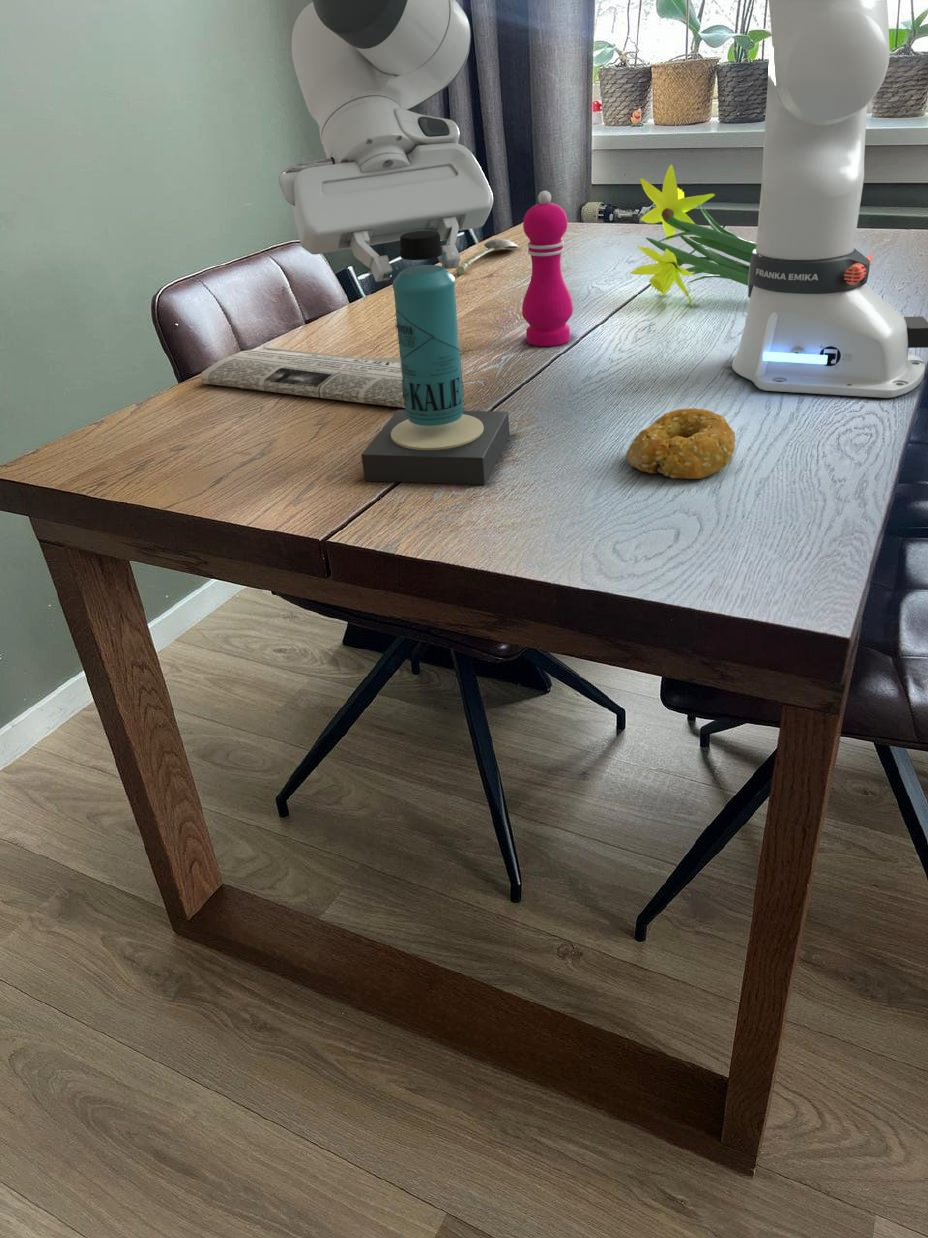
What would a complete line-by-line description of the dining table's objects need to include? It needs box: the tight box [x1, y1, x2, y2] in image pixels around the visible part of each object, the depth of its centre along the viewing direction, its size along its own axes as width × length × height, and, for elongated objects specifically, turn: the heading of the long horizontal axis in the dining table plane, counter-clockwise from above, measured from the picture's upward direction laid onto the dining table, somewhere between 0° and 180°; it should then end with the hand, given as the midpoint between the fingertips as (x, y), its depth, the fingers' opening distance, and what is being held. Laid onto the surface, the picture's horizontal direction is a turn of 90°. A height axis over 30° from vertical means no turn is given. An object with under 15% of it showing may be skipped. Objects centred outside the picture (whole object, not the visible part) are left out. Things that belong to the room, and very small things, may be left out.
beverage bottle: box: [392, 231, 466, 426], centre depth 97 cm, size 6×7×20 cm
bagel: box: [625, 407, 736, 480], centre depth 96 cm, size 10×11×5 cm
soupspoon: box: [455, 238, 519, 276], centre depth 183 cm, size 22×3×7 cm
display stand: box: [361, 409, 510, 486], centre depth 103 cm, size 13×13×3 cm
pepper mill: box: [521, 190, 574, 347], centre depth 132 cm, size 7×7×20 cm
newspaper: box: [200, 346, 406, 409], centre depth 127 cm, size 35×12×4 cm, turn 62°
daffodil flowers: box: [629, 163, 756, 307], centre depth 144 cm, size 17×15×35 cm
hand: (419, 271), depth 93 cm, fingers closed on beverage bottle, 6 cm apart
